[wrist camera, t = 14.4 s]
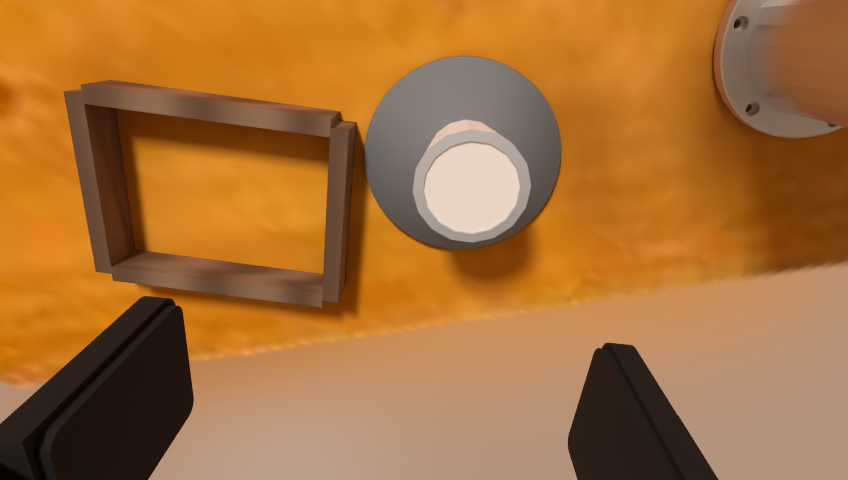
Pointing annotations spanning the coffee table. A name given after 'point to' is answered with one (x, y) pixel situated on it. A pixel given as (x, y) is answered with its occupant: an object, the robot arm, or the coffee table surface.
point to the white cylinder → (471, 182)
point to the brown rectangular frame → (118, 257)
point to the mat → (450, 102)
